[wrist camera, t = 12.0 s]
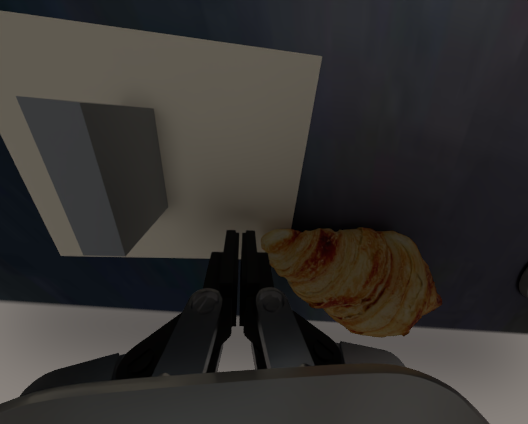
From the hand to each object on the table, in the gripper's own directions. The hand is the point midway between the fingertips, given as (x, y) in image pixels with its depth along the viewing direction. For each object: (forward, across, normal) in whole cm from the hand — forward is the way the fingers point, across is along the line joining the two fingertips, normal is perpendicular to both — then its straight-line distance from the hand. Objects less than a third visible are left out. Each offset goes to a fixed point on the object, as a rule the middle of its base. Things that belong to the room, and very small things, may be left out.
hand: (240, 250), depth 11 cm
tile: (+5, +7, -4) cm, 9 cm away
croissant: (+5, -12, +5) cm, 14 cm away
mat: (+6, +5, -3) cm, 8 cm away
